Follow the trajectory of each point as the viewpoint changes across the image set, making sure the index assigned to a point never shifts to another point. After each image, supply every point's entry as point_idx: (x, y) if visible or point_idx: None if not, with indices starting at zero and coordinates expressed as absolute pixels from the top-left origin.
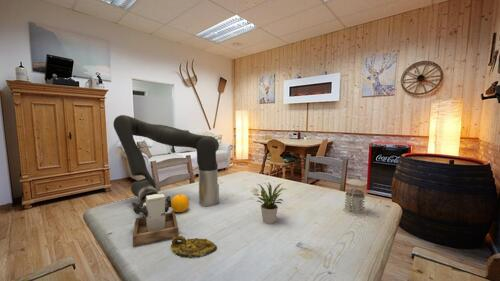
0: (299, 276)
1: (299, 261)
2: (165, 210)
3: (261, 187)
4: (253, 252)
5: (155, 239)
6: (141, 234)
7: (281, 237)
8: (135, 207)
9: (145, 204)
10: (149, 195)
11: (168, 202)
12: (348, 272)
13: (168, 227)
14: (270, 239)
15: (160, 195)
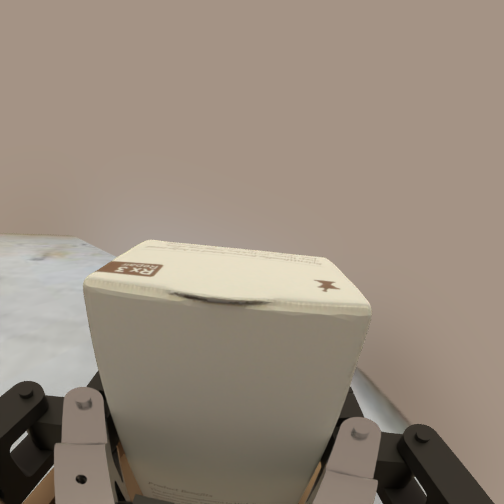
0: (106, 252)
1: (78, 255)
2: None
3: None
4: None
5: None
6: None
7: (23, 270)
8: (440, 439)
9: (342, 472)
10: (314, 291)
11: (46, 405)
12: (75, 240)
13: (137, 487)
14: (35, 276)
15: (170, 250)
